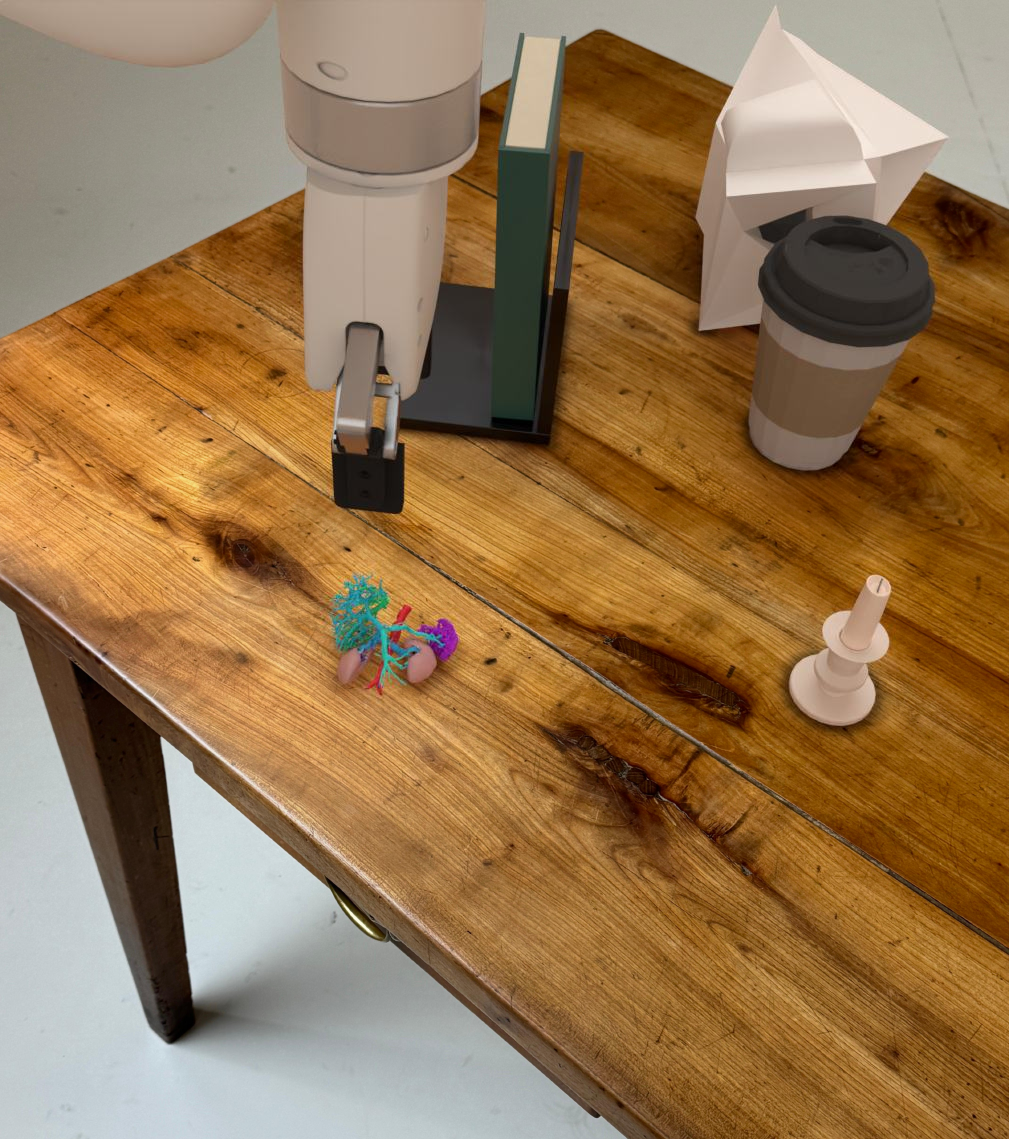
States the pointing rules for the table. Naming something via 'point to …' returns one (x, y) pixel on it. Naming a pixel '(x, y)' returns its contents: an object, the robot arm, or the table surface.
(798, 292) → the coffee cup
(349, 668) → the anatomy model
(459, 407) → the book stand
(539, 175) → the book
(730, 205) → the folded paper
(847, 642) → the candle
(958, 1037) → the table surface
